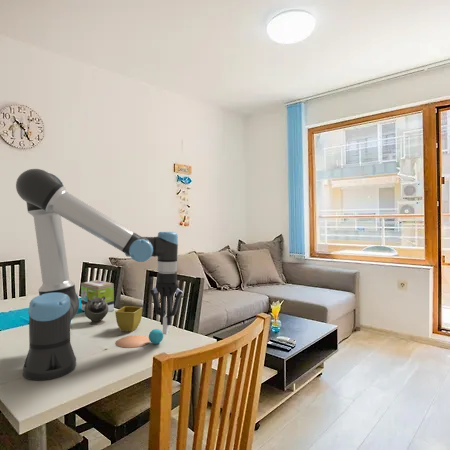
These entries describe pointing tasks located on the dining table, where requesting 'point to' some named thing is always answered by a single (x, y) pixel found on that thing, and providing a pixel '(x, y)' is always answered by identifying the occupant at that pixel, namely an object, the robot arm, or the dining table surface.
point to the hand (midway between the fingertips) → (165, 333)
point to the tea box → (97, 292)
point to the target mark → (132, 341)
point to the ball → (156, 336)
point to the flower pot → (128, 318)
